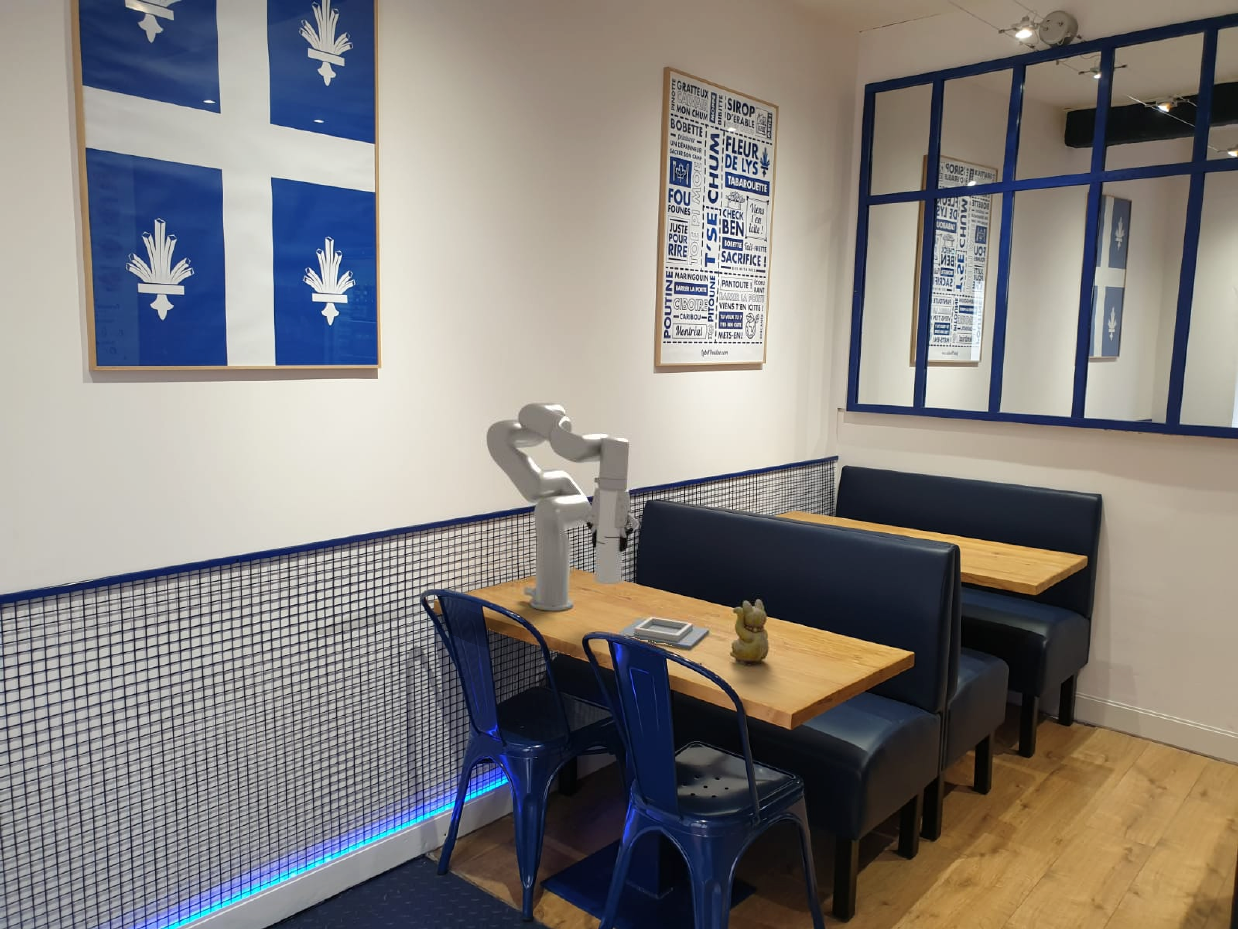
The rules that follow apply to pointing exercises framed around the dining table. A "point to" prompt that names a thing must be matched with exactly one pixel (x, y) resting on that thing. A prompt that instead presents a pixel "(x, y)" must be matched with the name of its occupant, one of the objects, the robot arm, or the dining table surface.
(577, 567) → the dining table surface
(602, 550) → the cylindrical container
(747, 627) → the decorative figurine
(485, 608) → the dining table surface
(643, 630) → the collar board
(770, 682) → the dining table surface
